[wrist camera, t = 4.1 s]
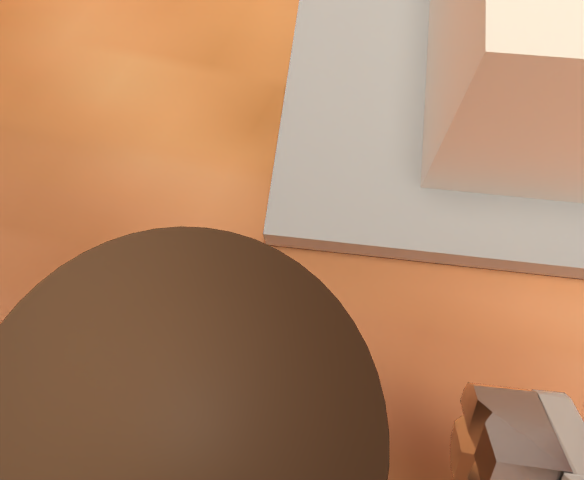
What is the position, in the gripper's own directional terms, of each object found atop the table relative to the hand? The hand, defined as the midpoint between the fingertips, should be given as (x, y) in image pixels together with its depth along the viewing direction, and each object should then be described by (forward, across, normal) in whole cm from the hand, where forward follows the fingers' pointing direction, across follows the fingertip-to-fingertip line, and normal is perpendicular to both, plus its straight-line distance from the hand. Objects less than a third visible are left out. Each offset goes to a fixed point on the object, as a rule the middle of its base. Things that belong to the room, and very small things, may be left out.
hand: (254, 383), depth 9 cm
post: (+4, 0, +5) cm, 6 cm away
